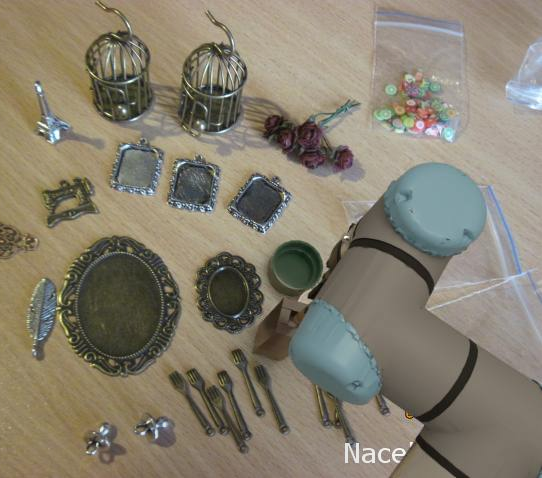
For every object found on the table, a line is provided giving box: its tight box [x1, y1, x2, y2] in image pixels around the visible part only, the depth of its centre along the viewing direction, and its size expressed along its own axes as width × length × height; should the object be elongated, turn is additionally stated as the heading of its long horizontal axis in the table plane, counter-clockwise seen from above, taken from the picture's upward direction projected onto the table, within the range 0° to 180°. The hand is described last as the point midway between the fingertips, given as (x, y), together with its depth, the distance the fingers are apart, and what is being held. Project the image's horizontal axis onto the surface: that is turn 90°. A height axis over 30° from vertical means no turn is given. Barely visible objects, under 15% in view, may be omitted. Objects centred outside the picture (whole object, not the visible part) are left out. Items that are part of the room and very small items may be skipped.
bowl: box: [267, 239, 324, 297], centre depth 116 cm, size 11×11×6 cm
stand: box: [251, 296, 308, 362], centre depth 101 cm, size 6×6×26 cm
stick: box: [293, 302, 311, 325], centre depth 79 cm, size 2×2×22 cm
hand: (315, 305), depth 78 cm, fingers closed on stick, 1 cm apart
